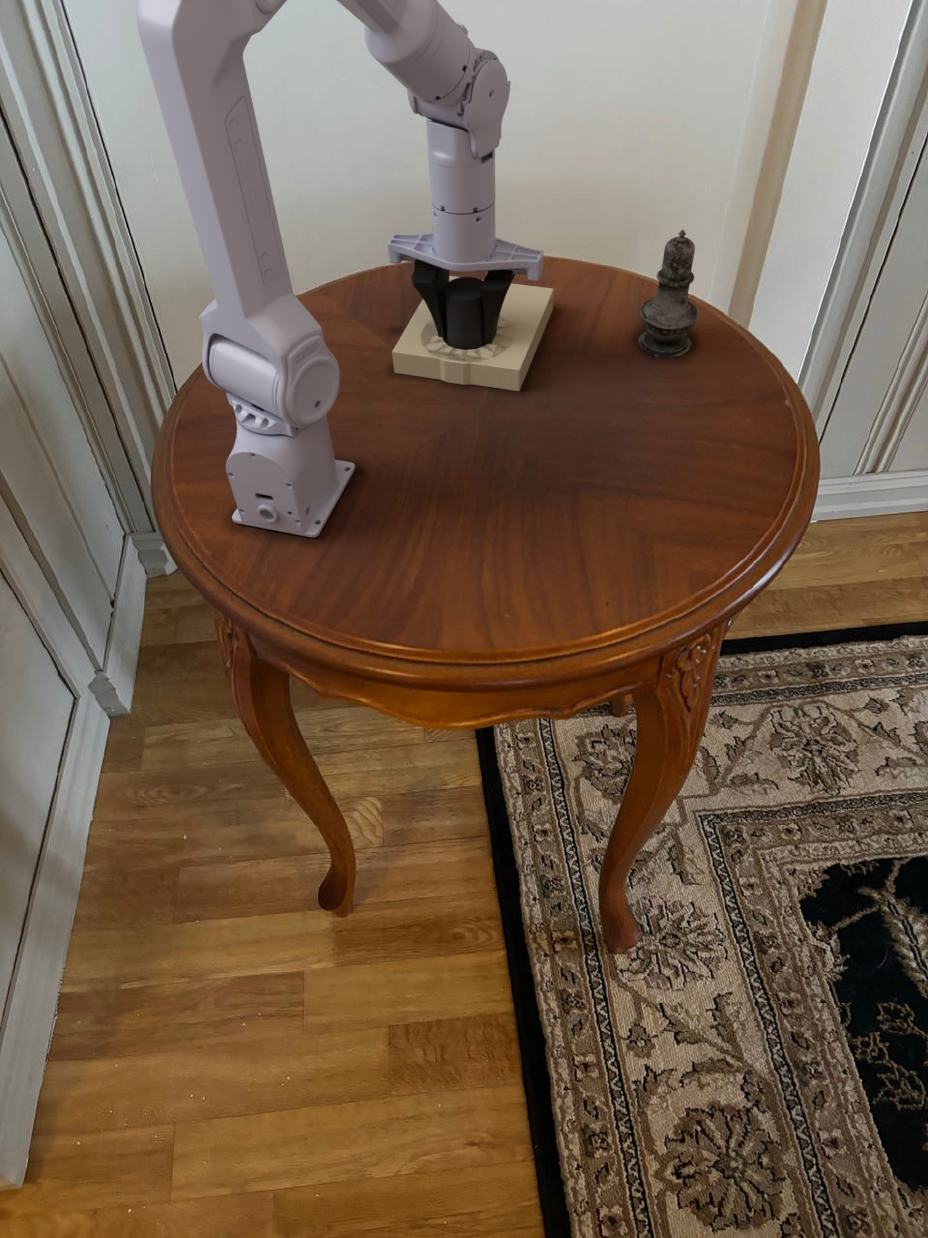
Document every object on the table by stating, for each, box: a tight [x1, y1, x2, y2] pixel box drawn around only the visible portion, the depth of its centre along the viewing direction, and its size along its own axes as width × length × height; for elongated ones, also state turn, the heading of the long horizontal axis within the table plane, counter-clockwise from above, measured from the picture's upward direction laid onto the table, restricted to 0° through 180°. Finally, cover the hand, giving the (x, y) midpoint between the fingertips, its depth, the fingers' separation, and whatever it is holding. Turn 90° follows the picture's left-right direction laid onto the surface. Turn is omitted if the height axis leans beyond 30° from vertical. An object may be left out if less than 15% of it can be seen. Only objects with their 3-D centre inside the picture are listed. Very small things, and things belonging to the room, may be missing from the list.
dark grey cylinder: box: [444, 276, 487, 350], centre depth 88 cm, size 4×4×7 cm
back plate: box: [391, 275, 555, 392], centre depth 92 cm, size 15×13×2 cm
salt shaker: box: [638, 229, 700, 359], centre depth 87 cm, size 6×6×12 cm
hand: (467, 335), depth 89 cm, fingers closed on dark grey cylinder, 4 cm apart
